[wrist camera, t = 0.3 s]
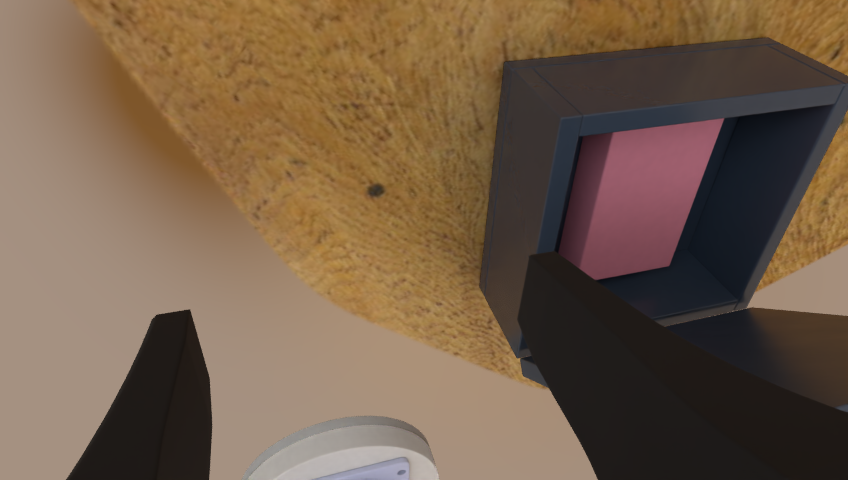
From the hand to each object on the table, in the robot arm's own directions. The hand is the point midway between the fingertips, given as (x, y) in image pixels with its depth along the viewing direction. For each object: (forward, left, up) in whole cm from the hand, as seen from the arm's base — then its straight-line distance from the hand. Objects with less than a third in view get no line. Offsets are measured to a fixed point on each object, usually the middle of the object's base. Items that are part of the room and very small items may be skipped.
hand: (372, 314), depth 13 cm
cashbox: (-5, -14, -11) cm, 18 cm away
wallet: (-5, -14, -10) cm, 18 cm away
